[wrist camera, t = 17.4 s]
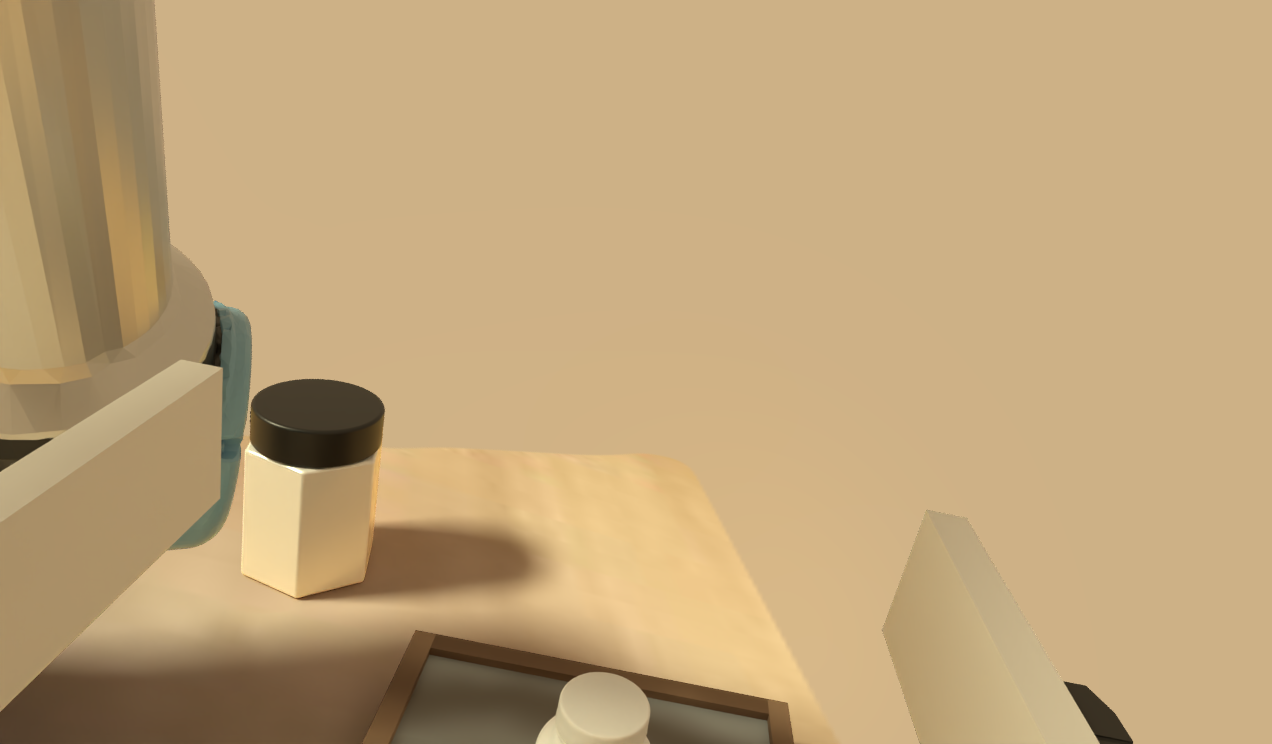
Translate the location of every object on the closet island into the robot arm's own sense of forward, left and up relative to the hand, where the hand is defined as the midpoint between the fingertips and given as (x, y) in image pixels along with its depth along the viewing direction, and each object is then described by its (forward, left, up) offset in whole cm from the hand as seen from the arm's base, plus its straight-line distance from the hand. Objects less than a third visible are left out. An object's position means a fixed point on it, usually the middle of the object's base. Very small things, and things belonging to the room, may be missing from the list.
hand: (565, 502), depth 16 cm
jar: (-40, +2, -29) cm, 50 cm away
